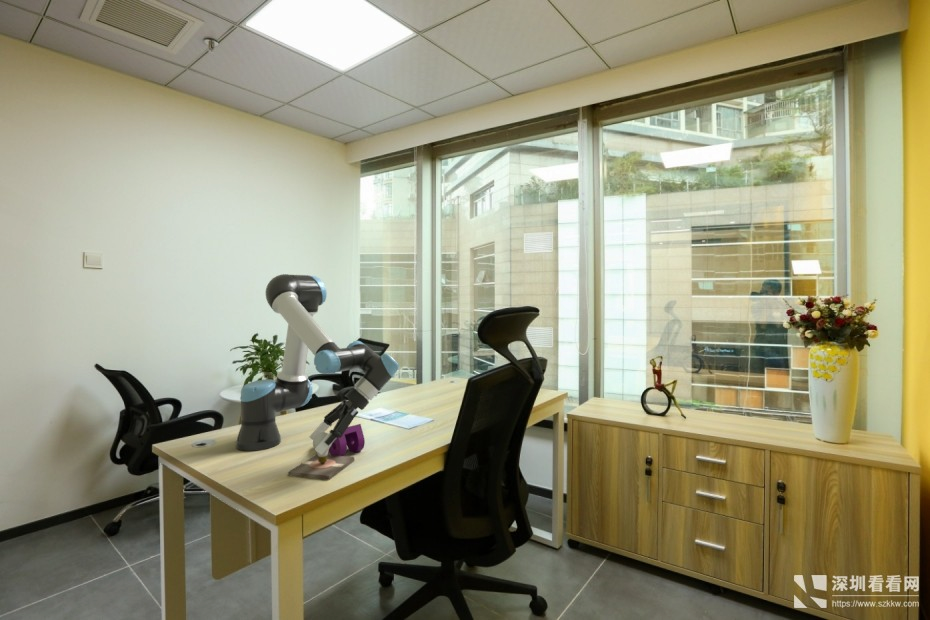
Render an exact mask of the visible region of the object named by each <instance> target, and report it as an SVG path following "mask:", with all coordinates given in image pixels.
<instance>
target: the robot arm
mask: <svg viewBox="0 0 930 620" xmlns="http://www.w3.org/2000/svg"><path fill="white" fill-rule="evenodd" d="M266 285H267V286H266V287H265V298H266V302H267V304H268V306H269V307H270V308H271V309H272V311H273V312H274V313H276V314H280V316H281V317H282V318H283V319H284V320H285V322H286V323H287V331H286V337H285V344H284V353H283V358H282V359H283V360H282V368H281V371H280V372H279V373H277V374H276V381H275V380H274V379H269V378H268V379H261V380H260V379H259V380H254V381H251V382H248V383H246V384H244V385H243V386H242V387H241V391H240V397H239V400H240V421H241V422H240V423H241V425H240V428H239V432H238V434H237V439H236V441H235V448H236V449H237V450H239V451H244V452H247V451H249V452H252V451H261V450H266V449H270V448H274V447H276V446H277V445H278V446H279V444H281V442H282V441H281V438H282V437H281V434H280V431H279V428H278V425H277V422H276V413H279V412H280V413H281V412H284V411H289V410H292V409H298V408H301V407H304V406H305V405H306V404H308V403H309V401H311V398H312V396H313V386H312V382H311V381H310V380H309V376H308V375H307V374H306V365H307V359H308V354H309V353H308V352H309V351H311V353H312V354H313V355H314V358H313V365H314V366H315V370H316V371H317V373H320V374H322V375H327V374H336V373H340V372H345V371H352V370H356V369H359V370H361V371H362V372H363V373H364V374H363V376H361V377H360V379H358V380H357V382H356V383H355V384H354V387H351V389H350V390H349V391H348V392H347V393H346V394H345V397H346V398H347V399H348V400H347V399H343V400H342V401H341V402H340V403H339V404H338V405H337V406H335V407H334V408H333V409H332V410H331V411H330V412H328V413H327V414H326V415H325V416H324V417H323V418H324V419H323V421H322V422H321V423H320V424H319V425H318V426H317V427H316V428H315V430H313V432H312V433H311V434H310V435H309V436H308V437H309V439H310V440H312V441H313V439H314V437H315V436H316V435H317V434H319V433H321V432H325V433H326V431H327V430H328V429H330V428H331V427H332V426H333V423H335V422H336V424H335V425H334V426H333V429H330V430H329V432H328V435H327V436H326V437H325V438H324V439H323V440H322V441H321V442H320V444H319V445H318V446H317V447H316V448H314V451H316V453H317V452H318V453H320V454H321V455H322V454H323V453H324V452H325V451H326V449H327V448H328V447H329V446H330V445H331V444H332V443H333V442H334V441H335V439H336V438H338V437H339V438H341V437H342V435H343V434H344V432H345V431H346V429H347V428H348V427H350V425H351V423H352V421H353V420H354V419H355V418H356V416H357V415H358V414H359V411H358V410H357V409H359V410H361V411H362V410H364V409H365V408H366V407H367V406H368V405H369V402H370V401H372V400H373V399H374V398H375V397H377V396H378V394H379V392H380V391H381V390H382V389H383V387H385V385H386V384H387V383H388V382H389V381H390V380H391V379H392V378H393V377H394V376H395V375H396V373H397V372H398V370H399V369H400V364H399V363H398V361H397V360H395V358H393V357H392V356H391V355H390V354H388V353H382V355H379V354H378V353H377V352H376V351H374V350H373V349H372V348H370V347H369V346H368V345H367V344H365V343H363V342H362V341H360V340H354V341H352V342H350V343H349V344H348V345H347V346H346V347H344V348H341V347H339V346H338V345H337V344H336V342H334V340H333V339H332V338H331V337H330V336H329V334H328V333H327V332H326V331H325V330H324V329H323V328H322V326H321V325H320V324H319V323H318V322H317V321H316V320H315V318H314V315H315V314H317V313H318V312H319V311H318V310H319V307H320V306H322V305H324V303H325V302H326V300H327V293H328V292H327V288H326V285H325V284H324V282H323V280H322V279H321V278H319V277H317V276H314V275H308V274H307V275H306V274H286V273H285V274H284V273H283V274H278V275H276V276H274V277H272V278H271V280H269V282H268V283H267V284H266Z"/></svg>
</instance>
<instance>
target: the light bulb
mask: <svg viewBox="0 0 930 620" xmlns="http://www.w3.org/2000/svg"><path fill="white" fill-rule="evenodd" d="M328 434H329V432H326V431H325V432H321V433H319V434H317V435H316V436H315V437H314V439H313V440H312V447H313V448H314V449H315V448H316V447H317V446H318V445H319V444H320V442H321V441H322V440H323V439H324V438H325V437H326V436H327V435H328ZM331 445H332V444H331ZM331 445H330V446H329V447H328V448H327V449H326V451H325V452H324V453H323V454H322V455H321V454H320V453H318V452H317V451H316V454H317V455H318V462H320V463H321V464H324V463H325V462H326V461H327V455H329V454H328V453H329V448H330V447H331Z"/></svg>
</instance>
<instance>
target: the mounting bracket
mask: <svg viewBox="0 0 930 620" xmlns="http://www.w3.org/2000/svg"><path fill="white" fill-rule="evenodd" d="M365 444H366V443H365V436H364V432H363V429H362V424H361V423H359V424H355V425H351V426H350V425H349V426H348V428H347V429H346V431H345V432H344V434H343V435H342V437H341V438H339V437H338V438H336V439H335V441H334V442H333V443H332V445H331V447H330V448H329V450H328V453H330V454H329V455H332V456H345V455H346V453H347V450H349V452H352V453H358V452H361V451H363V450H364V447H365Z"/></svg>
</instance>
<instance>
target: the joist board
mask: <svg viewBox="0 0 930 620" xmlns="http://www.w3.org/2000/svg"><path fill="white" fill-rule="evenodd" d="M354 462H355V457H354V456H345V455H344V456H332V455H331V454H327V461H326V462H325V463H324V464H321V463H320V462H318V455H317V453H316V454H315V455H313V456H312V457H310V458H308V459H306V460H304V461H303V462H301V463H299V465H297V466H295V467H294V468H292V469H290V470H289V471H288V472H287V476H288V477H297V478H307V479H317V480H327V481H330V480H331V479H332V478H334V477H335V476H337V475H338V474H340V473H341V471H343V470H344V469H345V468H347V467H348V466H350V465H351V464H352V463H354Z"/></svg>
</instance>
